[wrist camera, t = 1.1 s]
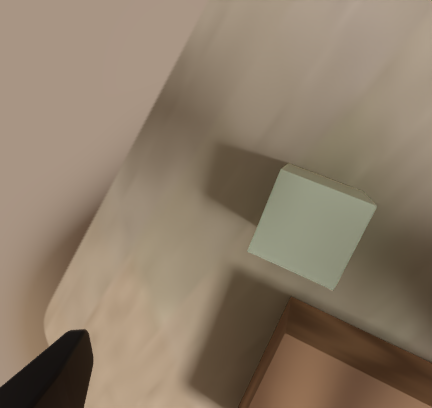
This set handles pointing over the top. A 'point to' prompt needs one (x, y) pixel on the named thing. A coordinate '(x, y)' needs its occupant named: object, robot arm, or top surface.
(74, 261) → the top surface
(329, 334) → the walnut block
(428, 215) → the top surface
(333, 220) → the sage green block
